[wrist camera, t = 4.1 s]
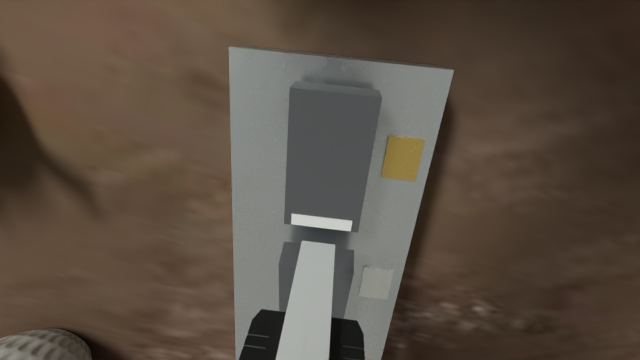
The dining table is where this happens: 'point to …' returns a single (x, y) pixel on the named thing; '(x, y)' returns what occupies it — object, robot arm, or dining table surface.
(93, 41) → the dining table surface
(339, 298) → the switch
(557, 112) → the dining table surface
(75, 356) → the vase
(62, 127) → the dining table surface
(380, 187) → the console
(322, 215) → the switch
